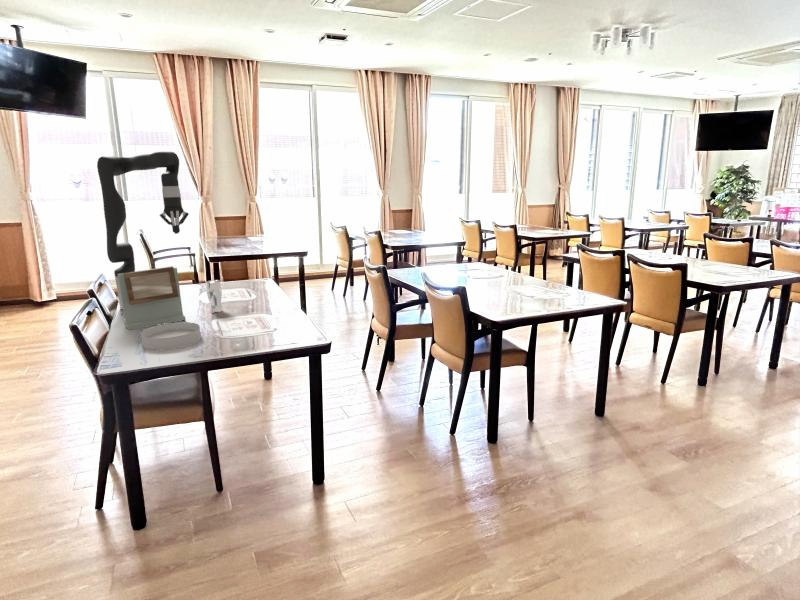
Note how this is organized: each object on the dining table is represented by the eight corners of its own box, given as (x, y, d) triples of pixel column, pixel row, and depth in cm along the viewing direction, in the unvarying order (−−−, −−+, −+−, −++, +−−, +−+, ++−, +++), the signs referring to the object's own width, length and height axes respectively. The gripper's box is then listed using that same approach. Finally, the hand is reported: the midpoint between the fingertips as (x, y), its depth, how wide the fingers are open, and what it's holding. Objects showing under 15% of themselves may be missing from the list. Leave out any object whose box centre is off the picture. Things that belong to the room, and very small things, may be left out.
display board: (124, 323, 234) (116, 272, 228) (180, 315, 247) (173, 265, 241) (127, 330, 224) (119, 276, 218) (185, 320, 237) (179, 269, 231)
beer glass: (208, 313, 248) (204, 283, 244) (209, 310, 254) (206, 280, 251) (223, 312, 249) (220, 282, 246) (224, 308, 256) (221, 279, 252)
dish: (134, 342, 208) (132, 330, 207) (188, 330, 223) (186, 319, 222) (154, 354, 192) (152, 342, 191) (210, 340, 207) (209, 329, 206)
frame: (129, 304, 225) (123, 273, 222) (177, 295, 236) (172, 266, 232) (130, 305, 224) (123, 273, 220) (178, 296, 234) (173, 266, 230)
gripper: (185, 195, 244) (189, 231, 249) (155, 196, 237) (160, 233, 242) (188, 195, 238) (192, 233, 243) (157, 197, 231) (162, 235, 236)
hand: (176, 233), depth 242 cm, fingers closed
